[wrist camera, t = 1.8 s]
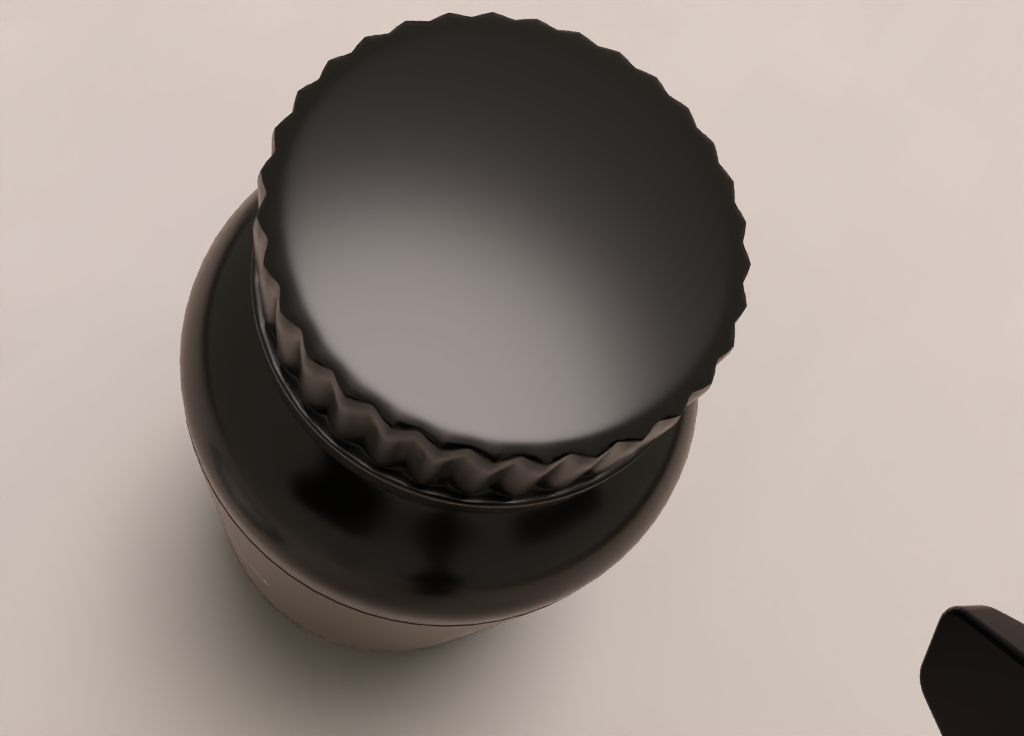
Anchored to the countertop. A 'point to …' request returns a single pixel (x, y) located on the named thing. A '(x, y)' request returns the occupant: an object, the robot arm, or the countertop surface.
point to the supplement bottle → (459, 330)
